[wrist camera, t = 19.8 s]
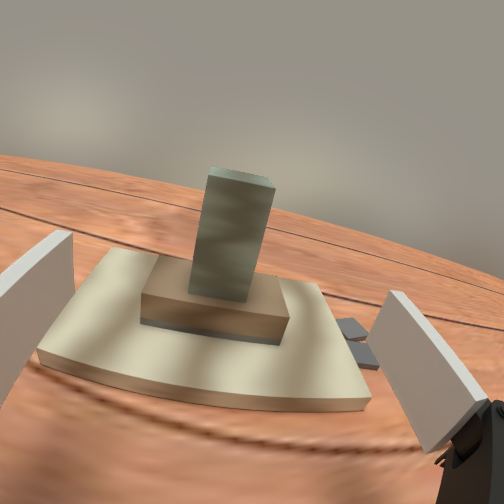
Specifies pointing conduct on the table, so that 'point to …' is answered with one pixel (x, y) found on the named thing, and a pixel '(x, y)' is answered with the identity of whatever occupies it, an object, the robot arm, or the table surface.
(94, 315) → the board
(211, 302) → the block
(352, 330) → the mark tile
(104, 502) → the table surface
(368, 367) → the mark tile
